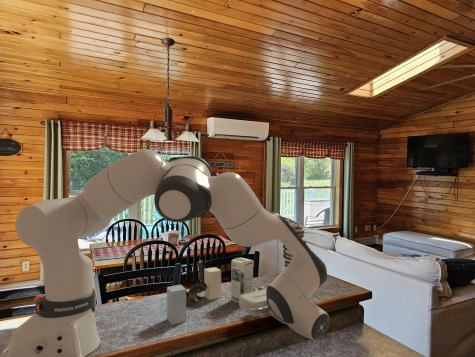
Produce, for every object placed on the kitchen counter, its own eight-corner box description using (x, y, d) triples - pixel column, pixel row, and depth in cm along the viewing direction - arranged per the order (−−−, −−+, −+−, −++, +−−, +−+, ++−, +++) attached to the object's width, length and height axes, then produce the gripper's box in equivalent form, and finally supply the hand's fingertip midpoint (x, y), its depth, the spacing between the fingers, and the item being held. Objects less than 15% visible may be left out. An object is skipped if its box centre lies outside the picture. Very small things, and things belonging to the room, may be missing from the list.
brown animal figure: (201, 305, 107) (212, 291, 115) (189, 287, 107) (200, 274, 115) (185, 313, 110) (197, 299, 118) (173, 296, 110) (186, 282, 118)
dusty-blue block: (171, 325, 96) (171, 291, 95) (167, 319, 100) (166, 287, 99) (186, 321, 98) (185, 289, 98) (180, 315, 102) (180, 284, 102)
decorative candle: (306, 285, 129) (307, 223, 128) (305, 293, 120) (305, 227, 119) (284, 283, 131) (284, 222, 131) (280, 291, 123) (281, 226, 122)
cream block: (209, 300, 114) (209, 272, 114) (204, 295, 118) (204, 268, 118) (220, 297, 116) (221, 270, 116) (215, 293, 120) (215, 267, 120)
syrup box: (230, 300, 114) (230, 259, 114) (241, 295, 118) (241, 256, 118) (242, 305, 110) (242, 263, 110) (253, 300, 114) (253, 259, 114)
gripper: (253, 323, 90) (229, 305, 102) (308, 307, 100) (280, 292, 112) (253, 301, 90) (229, 286, 102) (308, 287, 100) (280, 274, 112)
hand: (256, 289), depth 107 cm, fingers closed
